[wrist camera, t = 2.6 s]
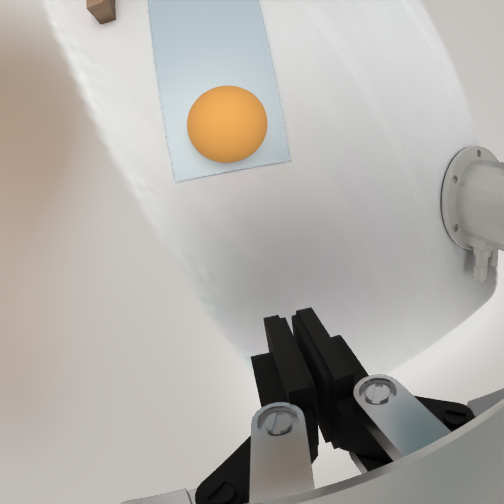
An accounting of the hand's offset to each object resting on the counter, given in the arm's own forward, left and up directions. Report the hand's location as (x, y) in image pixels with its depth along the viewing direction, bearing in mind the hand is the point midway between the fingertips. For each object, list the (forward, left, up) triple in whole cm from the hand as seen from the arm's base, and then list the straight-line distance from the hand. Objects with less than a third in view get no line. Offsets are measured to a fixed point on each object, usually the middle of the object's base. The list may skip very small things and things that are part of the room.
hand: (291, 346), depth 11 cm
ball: (+9, 0, -14) cm, 17 cm away
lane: (+24, 0, -17) cm, 29 cm away
